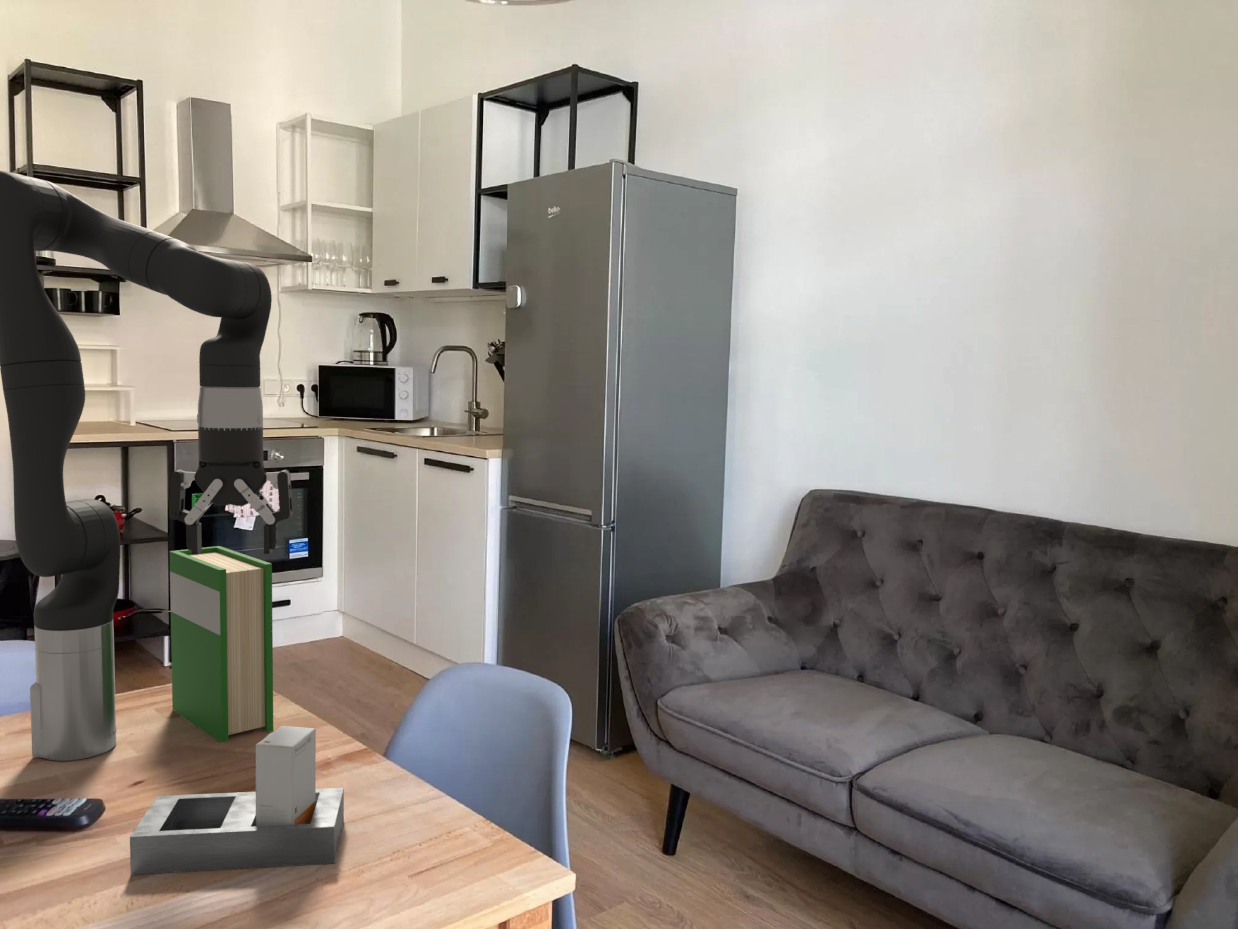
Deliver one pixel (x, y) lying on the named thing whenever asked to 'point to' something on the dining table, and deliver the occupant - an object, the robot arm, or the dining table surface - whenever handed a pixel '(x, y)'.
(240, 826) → the holder
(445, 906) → the dining table surface
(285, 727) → the skincare box
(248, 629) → the hardback book
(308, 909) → the dining table surface
